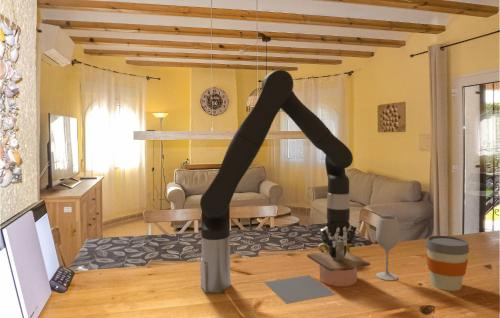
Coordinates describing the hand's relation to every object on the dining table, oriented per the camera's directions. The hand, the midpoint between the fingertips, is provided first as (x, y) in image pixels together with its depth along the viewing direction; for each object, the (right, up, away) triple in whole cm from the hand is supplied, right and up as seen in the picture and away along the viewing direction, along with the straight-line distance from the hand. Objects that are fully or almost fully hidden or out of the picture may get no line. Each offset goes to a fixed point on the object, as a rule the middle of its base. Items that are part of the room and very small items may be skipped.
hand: (337, 256), depth 129 cm
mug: (+3, -7, +21) cm, 22 cm away
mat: (-14, -9, -7) cm, 18 cm away
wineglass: (+18, -8, +4) cm, 20 cm away
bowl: (0, -9, +1) cm, 9 cm away
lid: (0, -2, 0) cm, 2 cm away
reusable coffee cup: (+35, -9, -4) cm, 36 cm away
